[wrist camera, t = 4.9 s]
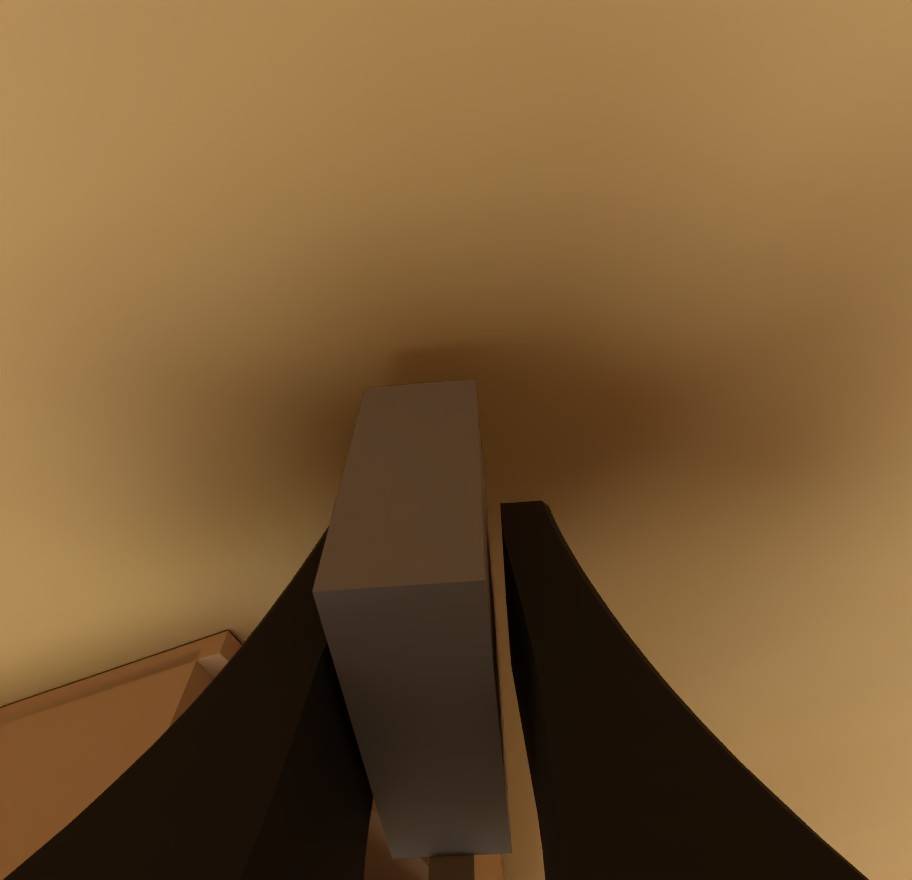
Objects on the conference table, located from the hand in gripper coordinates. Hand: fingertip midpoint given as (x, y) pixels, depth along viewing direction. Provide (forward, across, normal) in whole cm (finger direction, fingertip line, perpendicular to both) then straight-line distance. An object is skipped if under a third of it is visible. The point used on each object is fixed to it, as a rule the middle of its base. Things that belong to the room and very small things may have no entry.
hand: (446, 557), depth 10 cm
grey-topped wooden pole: (+2, 0, +7) cm, 7 cm away
